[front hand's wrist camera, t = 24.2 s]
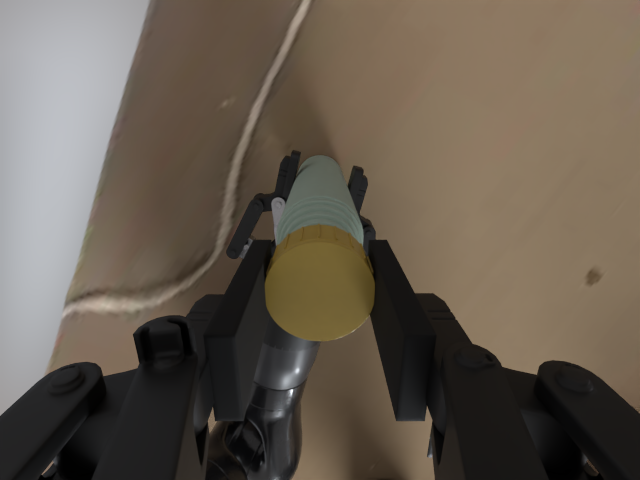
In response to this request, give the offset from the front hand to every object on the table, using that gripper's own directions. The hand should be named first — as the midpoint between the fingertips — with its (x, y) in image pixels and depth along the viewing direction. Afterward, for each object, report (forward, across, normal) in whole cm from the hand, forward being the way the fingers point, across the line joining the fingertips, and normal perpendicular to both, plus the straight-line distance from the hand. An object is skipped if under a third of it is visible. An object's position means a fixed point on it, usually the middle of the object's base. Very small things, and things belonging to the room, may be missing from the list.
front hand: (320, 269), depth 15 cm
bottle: (+22, 0, 0) cm, 22 cm away
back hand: (+16, -1, -3) cm, 16 cm away
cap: (-2, 0, 0) cm, 2 cm away
